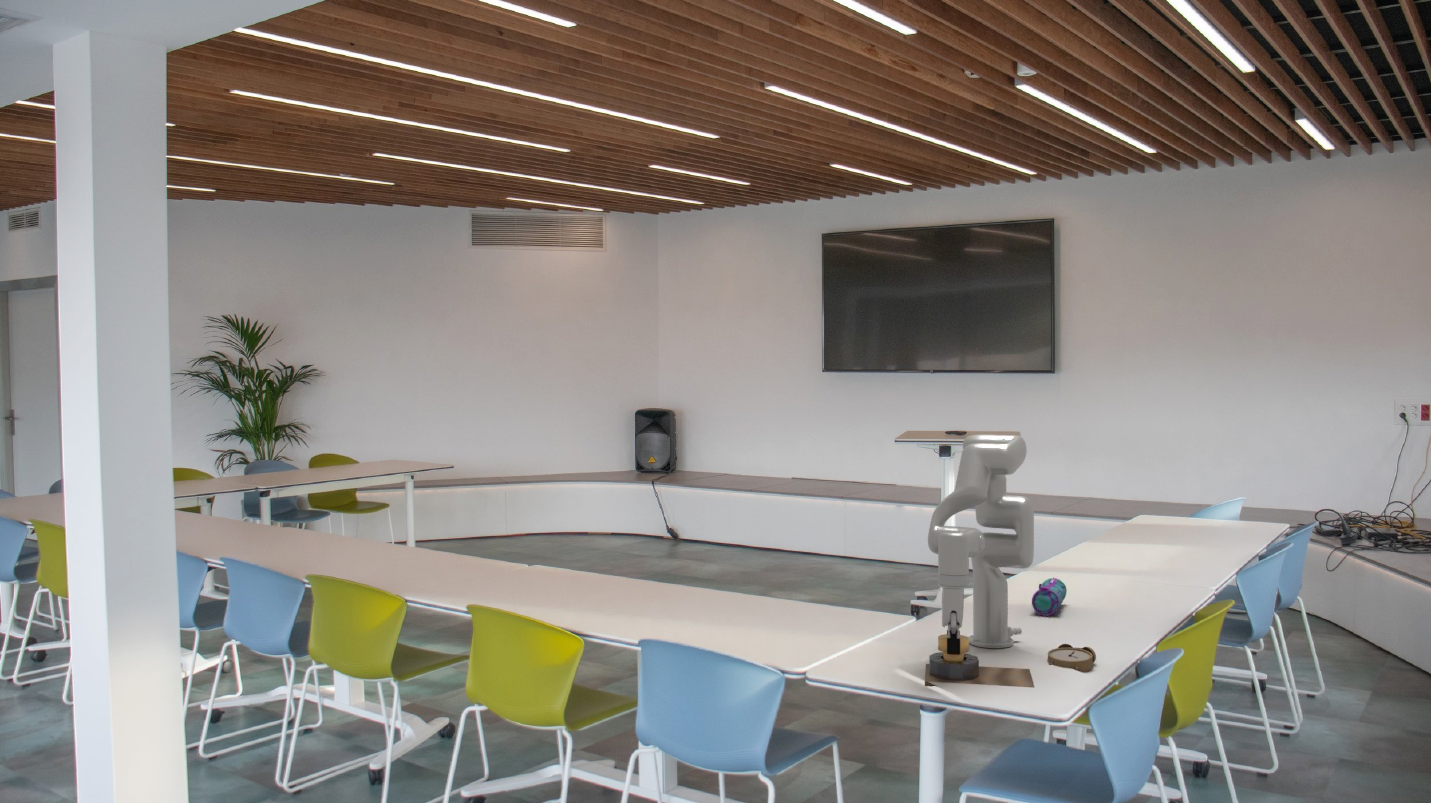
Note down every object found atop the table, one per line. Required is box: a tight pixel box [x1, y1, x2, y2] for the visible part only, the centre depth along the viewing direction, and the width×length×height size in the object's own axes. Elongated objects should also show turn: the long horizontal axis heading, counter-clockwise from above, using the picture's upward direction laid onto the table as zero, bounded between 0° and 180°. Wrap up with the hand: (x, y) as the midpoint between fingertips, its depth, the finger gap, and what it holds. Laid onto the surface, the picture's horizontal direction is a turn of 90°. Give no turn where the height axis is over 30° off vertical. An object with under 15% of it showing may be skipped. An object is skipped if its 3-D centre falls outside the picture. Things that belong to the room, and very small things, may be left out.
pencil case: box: [1031, 577, 1068, 617], centre depth 339 cm, size 21×9×10 cm, turn 156°
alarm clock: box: [1047, 643, 1097, 673], centre depth 275 cm, size 11×5×15 cm
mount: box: [924, 663, 1035, 688], centre depth 262 cm, size 26×16×1 cm, turn 77°
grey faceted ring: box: [928, 651, 980, 681], centre depth 263 cm, size 12×12×4 cm
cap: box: [937, 633, 970, 662], centre depth 263 cm, size 8×8×7 cm
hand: (953, 649), depth 263 cm, fingers closed on cap, 7 cm apart
